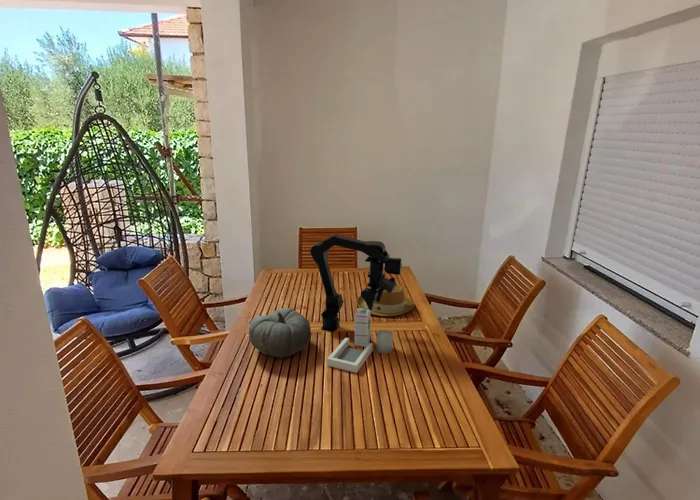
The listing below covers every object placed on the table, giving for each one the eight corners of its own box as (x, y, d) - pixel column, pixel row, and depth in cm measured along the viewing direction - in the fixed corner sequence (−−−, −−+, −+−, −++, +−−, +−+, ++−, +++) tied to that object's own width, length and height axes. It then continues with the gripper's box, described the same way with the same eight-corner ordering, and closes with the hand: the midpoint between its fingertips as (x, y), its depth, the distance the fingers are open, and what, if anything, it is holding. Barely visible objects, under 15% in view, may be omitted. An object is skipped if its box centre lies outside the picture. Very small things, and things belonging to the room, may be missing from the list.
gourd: (233, 352, 159) (238, 309, 156) (267, 333, 182) (272, 295, 179) (290, 371, 151) (297, 327, 148) (318, 349, 174) (324, 310, 171)
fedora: (369, 292, 224) (369, 272, 221) (420, 302, 212) (421, 280, 209) (347, 311, 201) (347, 288, 198) (403, 323, 189) (404, 299, 186)
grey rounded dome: (374, 351, 165) (374, 335, 163) (379, 343, 171) (379, 328, 168) (389, 354, 162) (390, 338, 160) (394, 347, 168) (394, 331, 166)
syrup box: (368, 347, 168) (368, 314, 164) (353, 345, 169) (354, 313, 165) (370, 340, 173) (371, 308, 169) (356, 338, 174) (356, 307, 170)
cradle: (327, 365, 155) (327, 358, 154) (345, 344, 170) (345, 337, 169) (356, 372, 150) (356, 365, 149) (372, 350, 166) (373, 343, 165)
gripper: (387, 282, 160) (384, 318, 165) (401, 268, 176) (398, 301, 181) (360, 277, 164) (359, 313, 169) (377, 264, 181) (375, 297, 185)
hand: (374, 306), depth 176 cm, fingers open, 9 cm apart
